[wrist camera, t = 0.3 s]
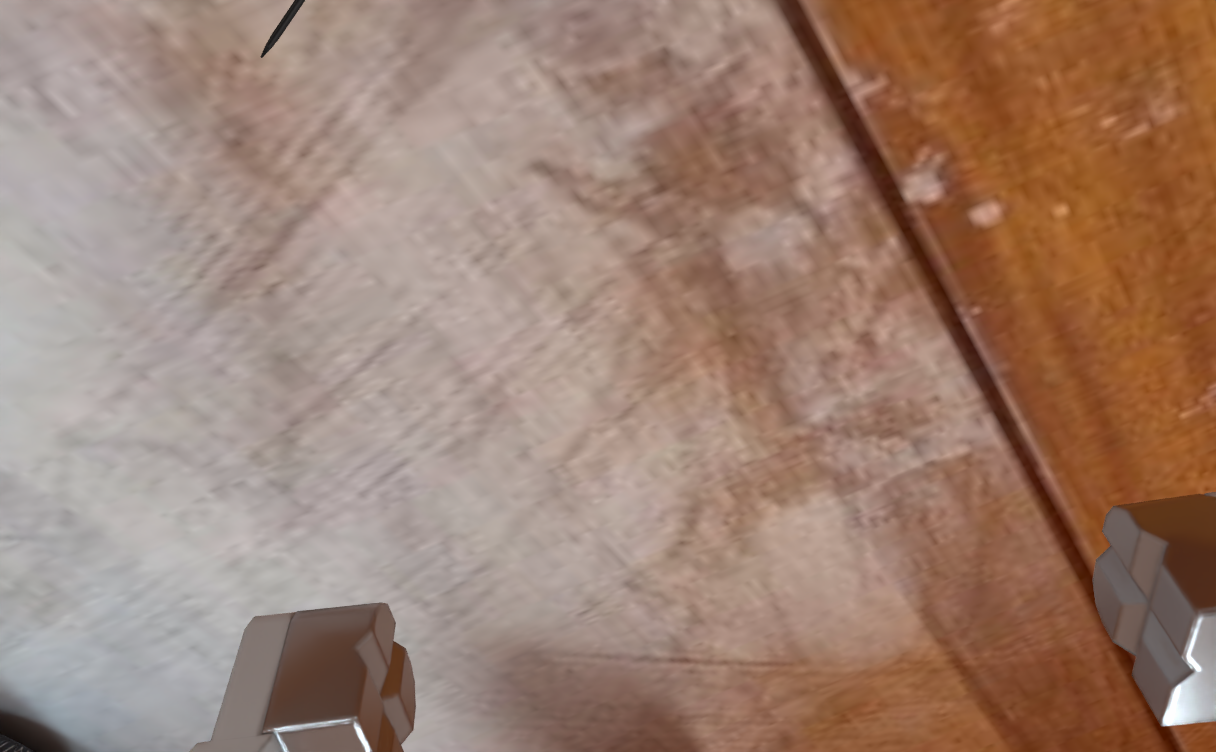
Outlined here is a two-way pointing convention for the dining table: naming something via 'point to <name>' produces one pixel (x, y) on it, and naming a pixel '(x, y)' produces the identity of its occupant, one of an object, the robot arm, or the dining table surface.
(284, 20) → the knife
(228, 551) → the dining table surface
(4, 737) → the planter
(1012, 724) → the dining table surface
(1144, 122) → the dining table surface
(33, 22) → the dining table surface
